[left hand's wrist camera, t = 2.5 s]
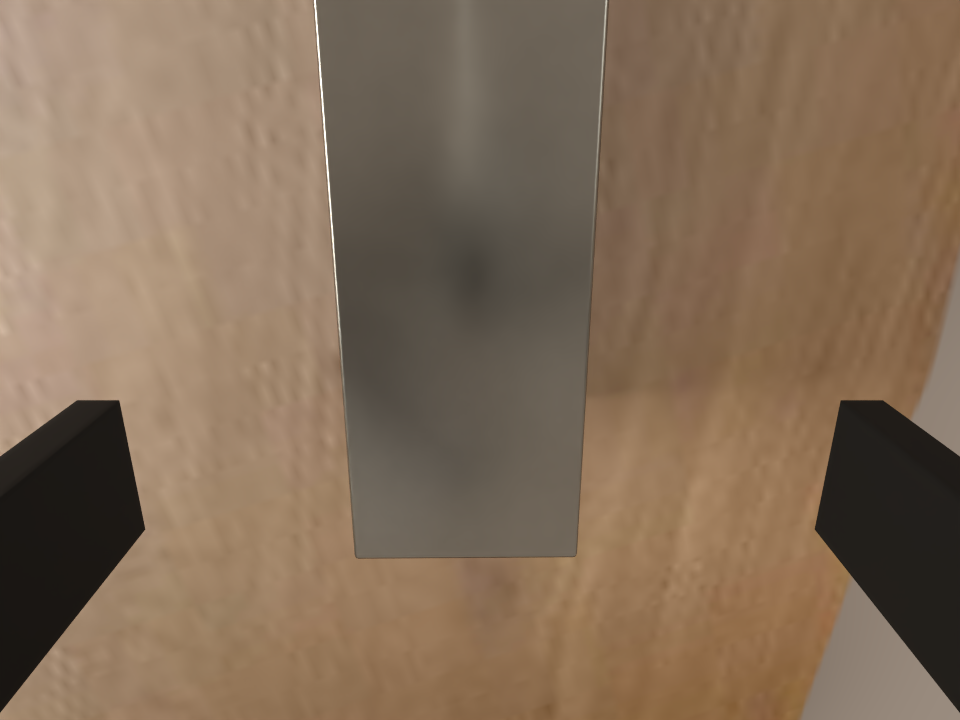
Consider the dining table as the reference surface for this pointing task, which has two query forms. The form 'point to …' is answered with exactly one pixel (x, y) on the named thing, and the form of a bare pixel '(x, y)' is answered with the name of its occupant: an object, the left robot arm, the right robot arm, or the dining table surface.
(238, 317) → the dining table surface
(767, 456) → the dining table surface
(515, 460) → the bar
